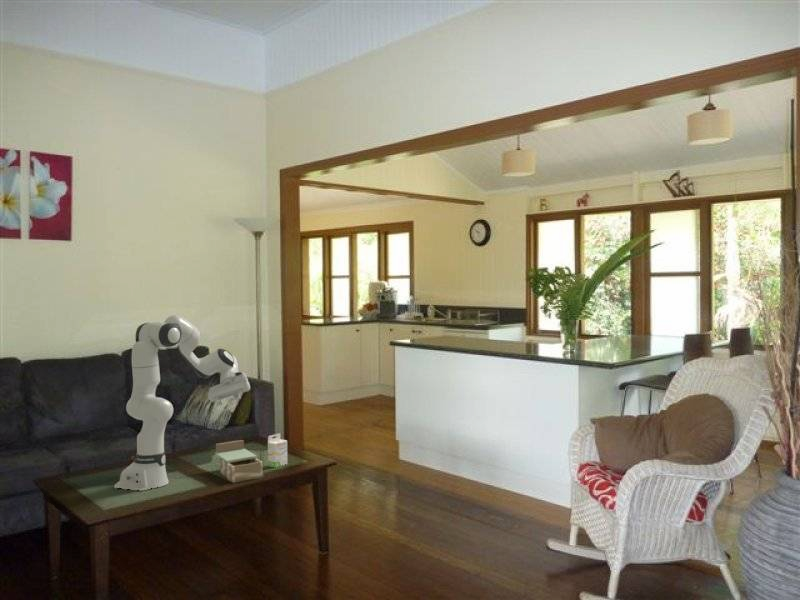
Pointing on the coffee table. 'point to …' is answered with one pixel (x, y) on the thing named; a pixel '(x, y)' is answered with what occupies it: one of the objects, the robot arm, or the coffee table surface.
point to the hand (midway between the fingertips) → (229, 401)
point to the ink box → (277, 451)
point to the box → (242, 470)
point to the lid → (233, 451)
